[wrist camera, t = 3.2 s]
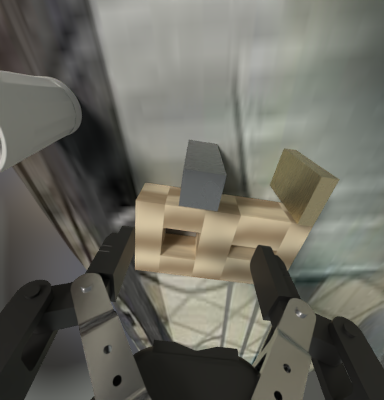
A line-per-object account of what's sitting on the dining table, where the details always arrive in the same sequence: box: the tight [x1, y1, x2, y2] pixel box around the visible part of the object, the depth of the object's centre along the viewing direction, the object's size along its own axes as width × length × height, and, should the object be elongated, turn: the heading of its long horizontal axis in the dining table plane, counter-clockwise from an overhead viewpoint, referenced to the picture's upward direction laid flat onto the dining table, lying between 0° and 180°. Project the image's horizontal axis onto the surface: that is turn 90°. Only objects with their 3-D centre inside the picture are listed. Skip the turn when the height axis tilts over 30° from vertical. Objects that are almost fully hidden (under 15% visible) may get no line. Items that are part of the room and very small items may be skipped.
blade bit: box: [270, 148, 339, 226], centre depth 23 cm, size 5×2×9 cm, turn 171°
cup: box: [0, 71, 82, 173], centre depth 19 cm, size 8×8×12 cm
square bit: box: [179, 140, 227, 211], centre depth 22 cm, size 4×4×10 cm
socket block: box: [135, 183, 313, 284], centre depth 30 cm, size 12×22×5 cm, turn 82°
